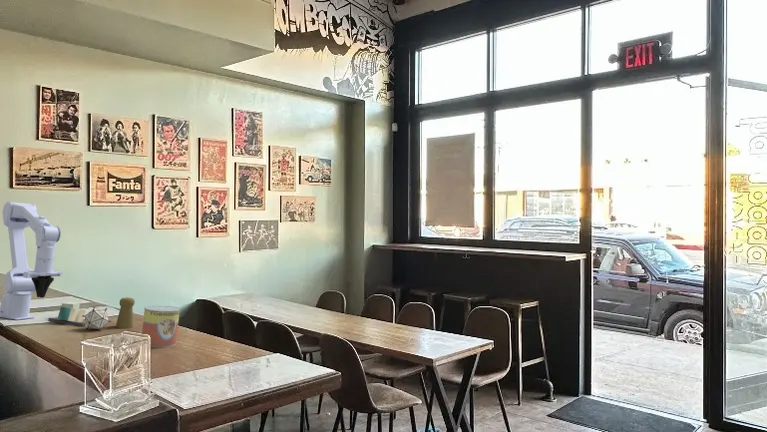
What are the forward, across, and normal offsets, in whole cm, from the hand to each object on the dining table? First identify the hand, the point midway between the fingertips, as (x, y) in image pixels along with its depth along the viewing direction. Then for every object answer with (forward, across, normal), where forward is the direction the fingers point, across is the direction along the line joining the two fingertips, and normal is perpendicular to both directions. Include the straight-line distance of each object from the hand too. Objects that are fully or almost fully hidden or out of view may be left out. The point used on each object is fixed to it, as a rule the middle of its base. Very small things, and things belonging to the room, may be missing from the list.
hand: (40, 297), depth 201 cm
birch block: (+6, +7, -4) cm, 10 cm away
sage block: (+10, +17, +3) cm, 20 cm away
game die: (+10, +7, -19) cm, 23 cm away
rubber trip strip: (+10, +9, -4) cm, 14 cm away
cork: (+10, +18, -22) cm, 30 cm away
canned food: (+10, +3, -49) cm, 50 cm away
